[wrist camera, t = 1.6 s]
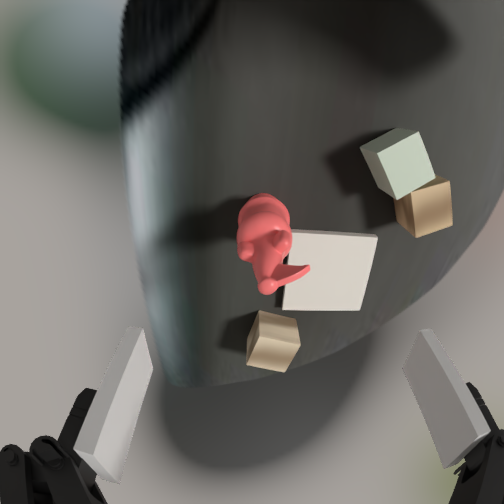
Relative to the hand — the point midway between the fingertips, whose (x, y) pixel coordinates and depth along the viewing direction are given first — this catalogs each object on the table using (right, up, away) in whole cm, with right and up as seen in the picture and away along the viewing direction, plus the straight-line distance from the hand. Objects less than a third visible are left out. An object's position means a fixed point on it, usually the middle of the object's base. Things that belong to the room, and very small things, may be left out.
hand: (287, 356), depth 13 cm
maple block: (+1, -5, +26) cm, 26 cm away
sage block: (+13, +15, +16) cm, 25 cm away
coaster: (+7, +2, +22) cm, 23 cm away
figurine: (0, +9, +19) cm, 21 cm away
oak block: (+17, +11, +18) cm, 27 cm away
